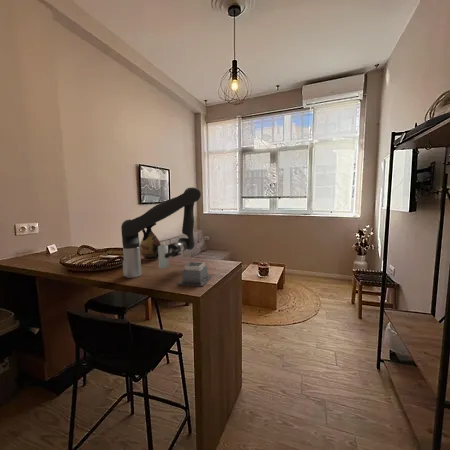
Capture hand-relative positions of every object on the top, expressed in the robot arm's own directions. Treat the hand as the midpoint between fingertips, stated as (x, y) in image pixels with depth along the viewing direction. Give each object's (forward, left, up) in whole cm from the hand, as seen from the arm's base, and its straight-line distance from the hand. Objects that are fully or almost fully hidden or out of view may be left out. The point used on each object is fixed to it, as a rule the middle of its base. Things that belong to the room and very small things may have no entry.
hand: (160, 255), depth 128 cm
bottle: (0, +3, -7) cm, 7 cm away
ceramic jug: (-36, +49, -16) cm, 63 cm away
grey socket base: (+14, +11, -16) cm, 24 cm away
